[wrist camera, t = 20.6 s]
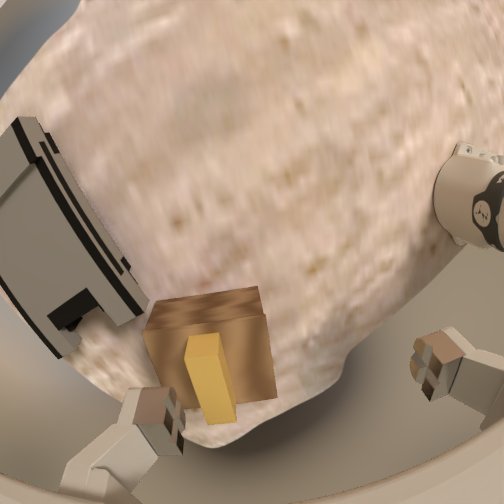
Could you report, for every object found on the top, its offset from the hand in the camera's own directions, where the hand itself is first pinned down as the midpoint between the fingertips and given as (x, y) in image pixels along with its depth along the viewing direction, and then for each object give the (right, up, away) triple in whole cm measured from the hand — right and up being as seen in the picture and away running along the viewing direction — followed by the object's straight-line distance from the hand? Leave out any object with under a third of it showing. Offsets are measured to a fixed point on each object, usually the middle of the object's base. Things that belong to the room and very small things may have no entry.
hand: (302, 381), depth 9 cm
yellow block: (-7, -12, +30) cm, 33 cm away
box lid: (-7, -12, +31) cm, 34 cm away
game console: (-33, +6, +32) cm, 47 cm away
